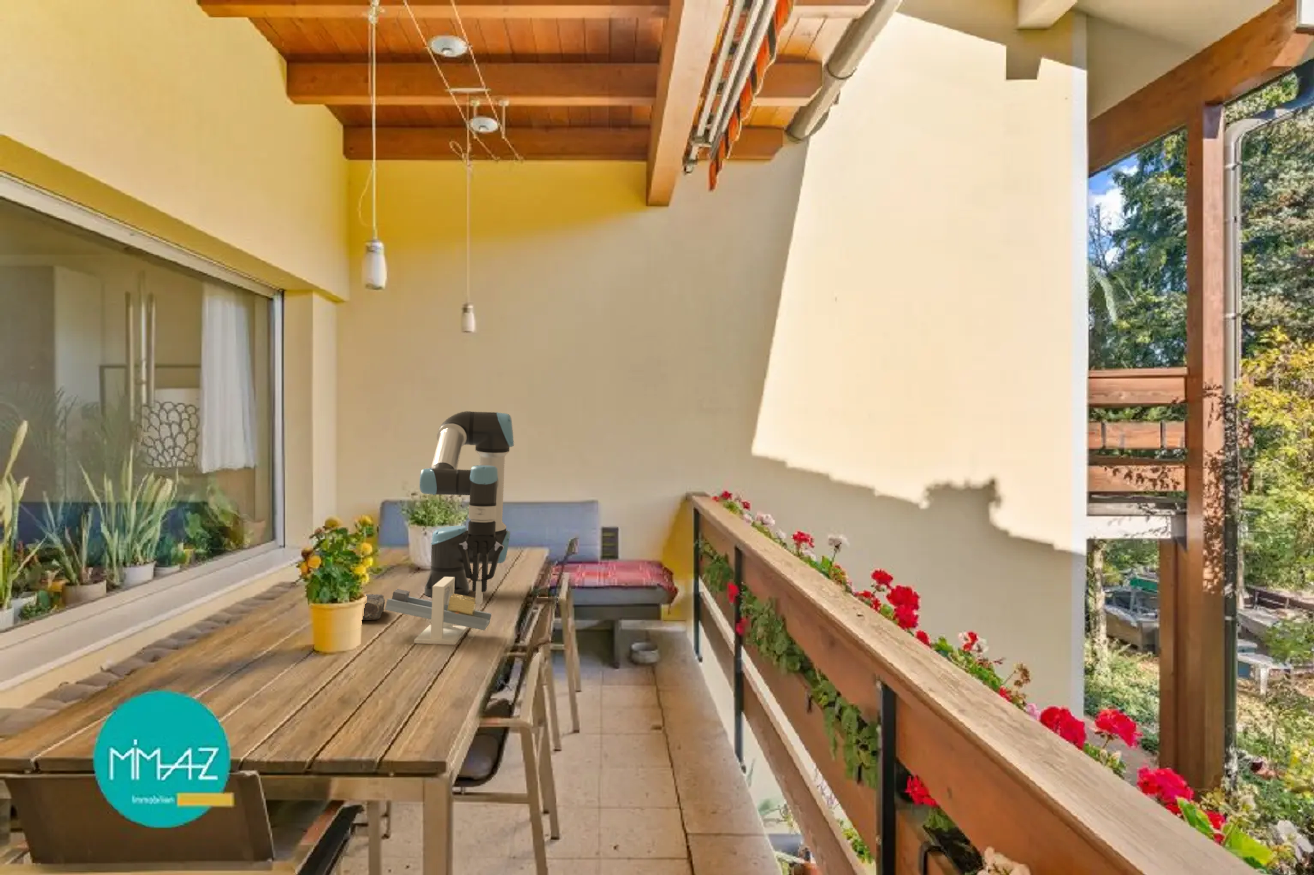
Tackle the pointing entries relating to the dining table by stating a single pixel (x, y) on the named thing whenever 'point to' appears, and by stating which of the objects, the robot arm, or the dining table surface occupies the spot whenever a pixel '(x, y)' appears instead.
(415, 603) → the beam
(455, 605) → the block
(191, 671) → the dining table surface
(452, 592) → the stand
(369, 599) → the rock
